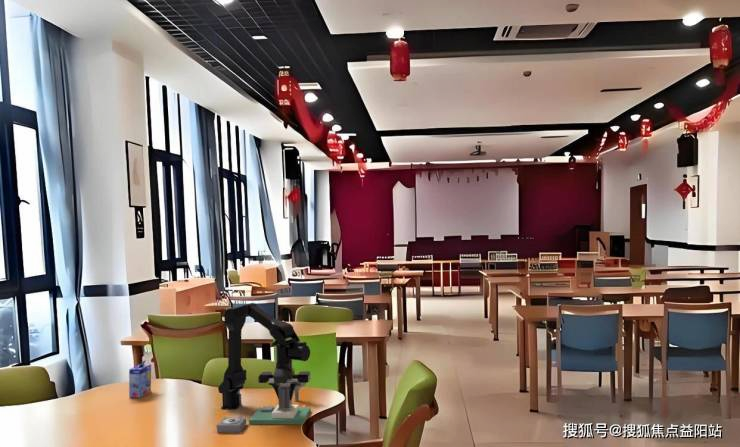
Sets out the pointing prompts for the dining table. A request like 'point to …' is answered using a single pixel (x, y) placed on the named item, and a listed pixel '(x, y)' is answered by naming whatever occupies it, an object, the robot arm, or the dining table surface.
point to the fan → (231, 425)
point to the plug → (284, 396)
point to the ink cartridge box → (140, 380)
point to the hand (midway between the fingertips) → (285, 400)
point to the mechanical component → (296, 389)
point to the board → (280, 415)
